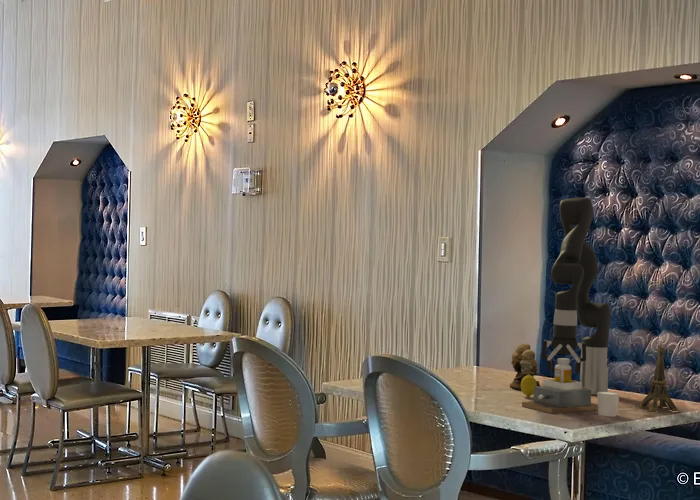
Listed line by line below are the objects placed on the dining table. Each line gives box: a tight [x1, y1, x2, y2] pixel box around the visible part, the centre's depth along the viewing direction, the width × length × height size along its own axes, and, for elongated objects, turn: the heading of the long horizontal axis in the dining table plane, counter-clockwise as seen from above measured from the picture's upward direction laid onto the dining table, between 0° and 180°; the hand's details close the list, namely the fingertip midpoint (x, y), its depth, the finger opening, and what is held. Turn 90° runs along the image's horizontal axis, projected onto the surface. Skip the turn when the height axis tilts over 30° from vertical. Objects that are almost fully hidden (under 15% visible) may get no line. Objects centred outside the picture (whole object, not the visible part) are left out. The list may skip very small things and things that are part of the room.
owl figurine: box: [509, 342, 542, 392], centre depth 367 cm, size 18×12×17 cm, turn 0°
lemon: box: [520, 375, 537, 398], centre depth 346 cm, size 6×6×8 cm
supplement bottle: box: [554, 357, 573, 383], centre depth 324 cm, size 5×5×10 cm
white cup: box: [596, 391, 621, 417], centre depth 315 cm, size 7×7×7 cm
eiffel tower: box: [636, 342, 679, 413], centre depth 329 cm, size 11×11×25 cm
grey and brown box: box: [521, 378, 598, 415], centre depth 324 cm, size 22×14×9 cm, turn 121°
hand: (563, 372), depth 324 cm, fingers open, 8 cm apart
